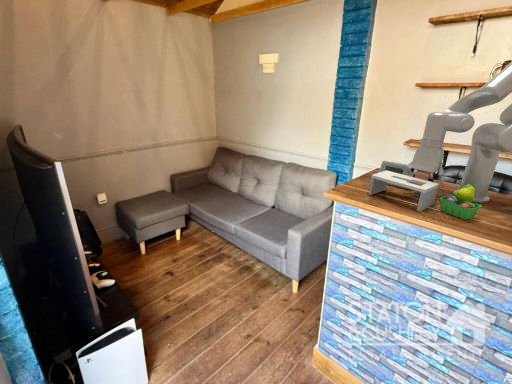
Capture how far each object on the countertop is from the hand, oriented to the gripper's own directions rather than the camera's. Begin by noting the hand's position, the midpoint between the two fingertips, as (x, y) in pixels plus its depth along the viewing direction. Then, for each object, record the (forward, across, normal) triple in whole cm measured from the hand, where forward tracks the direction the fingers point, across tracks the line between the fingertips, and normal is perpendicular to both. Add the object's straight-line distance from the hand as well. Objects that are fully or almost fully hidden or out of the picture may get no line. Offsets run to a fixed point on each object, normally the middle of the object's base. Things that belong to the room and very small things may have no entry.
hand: (421, 184), depth 118 cm
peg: (+5, 0, 0) cm, 5 cm away
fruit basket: (+5, +17, -6) cm, 19 cm away
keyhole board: (+5, -3, -11) cm, 12 cm away
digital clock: (+5, -14, +5) cm, 16 cm away
